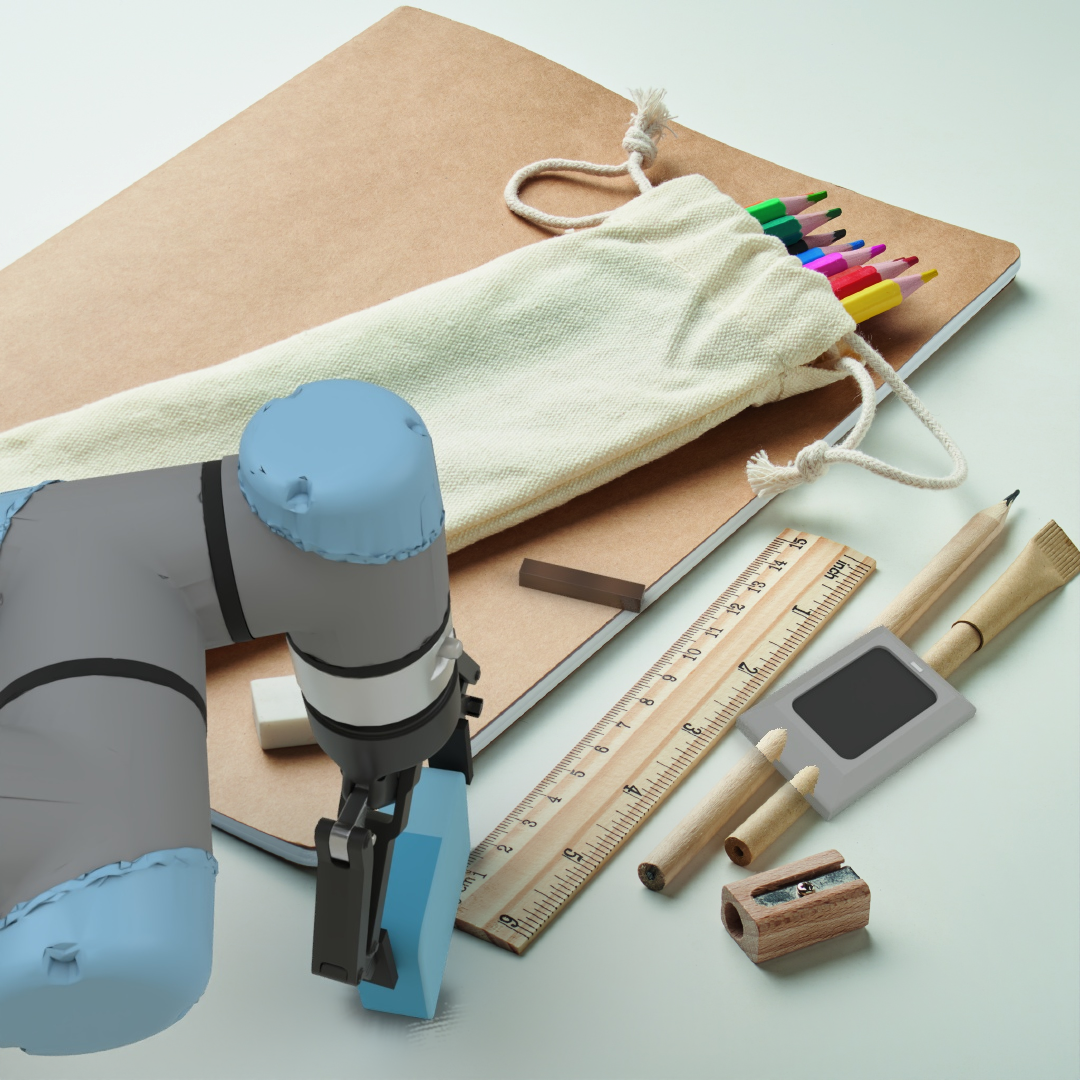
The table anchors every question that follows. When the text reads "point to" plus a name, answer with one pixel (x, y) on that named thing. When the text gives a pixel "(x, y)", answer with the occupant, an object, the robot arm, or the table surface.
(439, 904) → the light blue thick block
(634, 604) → the bar
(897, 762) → the grey badge holder
